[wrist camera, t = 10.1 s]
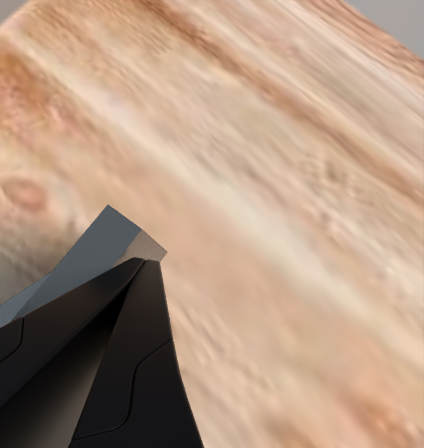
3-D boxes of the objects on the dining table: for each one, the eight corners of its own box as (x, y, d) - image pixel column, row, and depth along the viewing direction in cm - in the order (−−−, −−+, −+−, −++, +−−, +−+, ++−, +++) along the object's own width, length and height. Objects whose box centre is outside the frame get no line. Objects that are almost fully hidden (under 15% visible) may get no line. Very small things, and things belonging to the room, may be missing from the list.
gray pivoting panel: (-4, 507, 12) (-282, 829, 5) (-49, 470, 12) (-377, 730, 5) (178, 259, 14) (162, 243, 8) (139, 231, 15) (88, 190, 8)
